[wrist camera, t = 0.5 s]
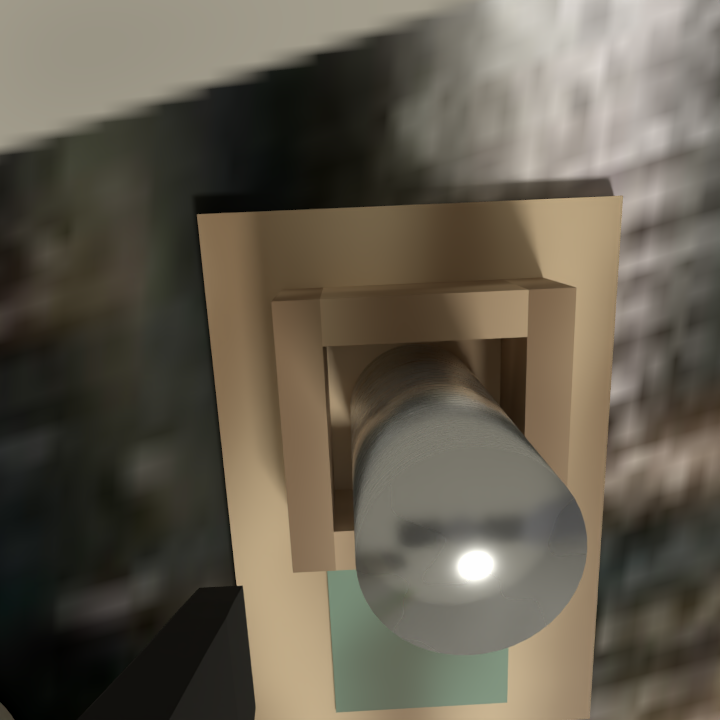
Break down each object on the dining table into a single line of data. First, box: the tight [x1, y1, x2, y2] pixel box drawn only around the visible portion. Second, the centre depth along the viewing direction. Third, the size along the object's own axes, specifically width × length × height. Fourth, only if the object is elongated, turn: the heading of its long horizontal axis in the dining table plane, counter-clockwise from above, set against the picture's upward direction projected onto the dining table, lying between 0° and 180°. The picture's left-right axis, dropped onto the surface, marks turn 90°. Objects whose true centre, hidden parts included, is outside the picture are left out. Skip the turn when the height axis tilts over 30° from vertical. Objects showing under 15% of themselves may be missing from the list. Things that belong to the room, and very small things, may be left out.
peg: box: [350, 344, 587, 655], centre depth 14 cm, size 4×4×8 cm
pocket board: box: [197, 196, 623, 720], centre depth 17 cm, size 12×18×3 cm, turn 2°
